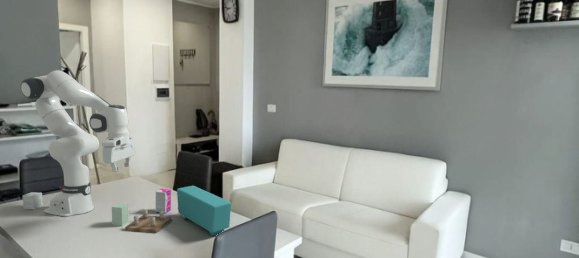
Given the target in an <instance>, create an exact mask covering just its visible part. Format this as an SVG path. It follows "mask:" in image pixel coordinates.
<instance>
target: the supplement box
mask: <svg viewBox="0 0 579 258" xmlns="http://www.w3.org/2000/svg"><path fill="white" fill-rule="evenodd" d="M171 210H172V189H168V188H160V189H158V190H156V191H155V213H156V214H159V211H164V215H165V214H167V213H168V212H170V211H171Z"/></svg>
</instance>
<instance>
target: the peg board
mask: <svg viewBox="0 0 579 258" xmlns="http://www.w3.org/2000/svg"><path fill="white" fill-rule="evenodd" d="M142 212H143V215H141V216H140V217H139V215H135V216H133V221H132V222H131V223H130V224H127V225H126V226H125V229H124V230H125V231H129V232H141V233H151V234H157V233H158V232H160V231H161V230H162V229H163V228H164V227H166V226H167V225H168V224H169V223H170V222H171V221H172V217H171V216H165V214H164V211H159V213H158V214H159V216H157V215H149V213H148V212H149V211H148V209H143V210H142Z"/></svg>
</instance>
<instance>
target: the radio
mask: <svg viewBox="0 0 579 258" xmlns="http://www.w3.org/2000/svg"><path fill="white" fill-rule="evenodd" d="M176 193H177V194H176V195H177V209H178V210H177V212H178V214H179V215H181V216H183V220H186V219H189V221H191V222H193V223H195V224H196V225H198V226H200V227H201V228H202V229H205V230H207V231H208V233H209V235H211V236H214V235H219V234H218V233H220V232H222V231H224V232H225V229H229V228H230V224H231V212H232V211H231V210H232V202H231V201H228V199H227V200H226V199H224V198H222V197H220V196H218V195H215V194H214V193H211V192H209V191H206V190H204V189H201V188H200V187H197V186H195V185H188V186H184V187H180V188H179V187H178V188H177V189H176ZM220 234H221V233H220Z"/></svg>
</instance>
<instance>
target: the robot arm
mask: <svg viewBox="0 0 579 258" xmlns="http://www.w3.org/2000/svg"><path fill="white" fill-rule="evenodd" d="M20 91H21V93H22V95H23V96H24V97H25V98H27V99H28V100H36V101H35V104H34V106H35V109H36V111H37V113H38V115H39V117H40V119H41V120H42V122H43V124H44V125H45V126H46V127H47V129H48V131H49V132H50V134H52V135H54V136H56V137H59V138H58V139H56V140H52V141H51V142H50V143H49V145H48V153H49V154H50V155H49V156H50V157H51V158H53V159H54V160H55V161H57V162H58V163H59V164H60V166H61V169H62V173H63V181H64V182H63V184H62V185H59V189H61V191H60V192H58V193H57V195H55V196H53V197H52V198H51V199H50V203H49V207H46V208H45V209H44V211H43V212H44V213H45V214H49V215H56V216H60V217H71V216H75V215H81V214H85V213H88V212H92V211H93V210H94V209H95V206H94V203H93V200H92V199H93V198H92V195H91V192H92V191H91V190H92V189H91V188H92V186H91V182H90V169H89V167H88V166H87V165H86V164H83V162H82V160H81V157H84V156H88V155H90V154H92V153H95V152H96V151H98V150H99V147H100V142H99V139H98V137H97V136H95V134H91V133H89V132H87V131H86V130H84V129H83V128H81V127H80V126H79V125H77V124H76V123H75V122H74V121H73V119H72V118H71V116H70V114H68V112H67V111H66V109H65V107H63V105H62V103H61V102H60V100H61V101H62V102H64V103H66V104H67V105H70V106H76V107H77V106H79V107H86V108H91V109H93V110H96V111H97V112H95V113H92V114H91V115H90V117H89V121H88V122H89V123H88V125H89V126H90V129H91V130H92V131H93V132H94V133H98V134H101V133H107V137H106V138H105V139H104V140H103V141H102V142H101V147H103V148H102V151H101V152H102V161H103V163H104V164H106V165H107V164H109V166H110V167H111V169H112V172H114V173H115V172H118V171H119V168H118V166H117V162H120V161H123V160H125V161H124V167H125V168H129V167H130V166H131V164H130V162H131V159H132V158H131V157H134V156H135V155H136V147H135V143H134V141H133V139H132V138H131V137H130V132H129V118H128V117H129V115H128V111H127V109H126V107H125V106H123V105H120V104H110V103H109V102H108V101H106V100H105V99H104V98H102V97H101V96H99V95H98V94H96V93H95V92H93V91H91V90H89V89H87V88H86V87H84V86H83V85H82V84H81V83H79V82H78V81H77V80H76V79H74V77H72V76H71V75H69V74H68V73H66V72H64V71H63V70H59V69H56V70H52V71H50V72H49V73H48V74H44V75H41V76H35V77H28V78H25V79H23V80H22V81H21V83H20Z"/></svg>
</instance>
